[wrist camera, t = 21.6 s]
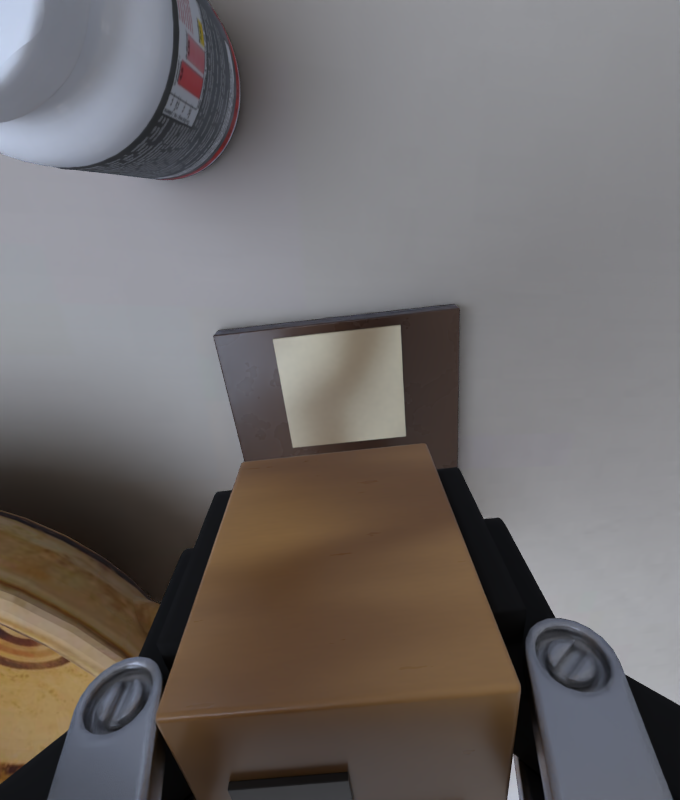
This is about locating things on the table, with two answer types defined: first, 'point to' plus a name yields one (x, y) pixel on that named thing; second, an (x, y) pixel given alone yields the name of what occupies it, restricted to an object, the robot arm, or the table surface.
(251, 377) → the word board
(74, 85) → the pill bottle
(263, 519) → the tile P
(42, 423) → the table surface
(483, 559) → the robot arm
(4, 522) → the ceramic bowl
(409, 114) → the table surface
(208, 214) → the table surface
